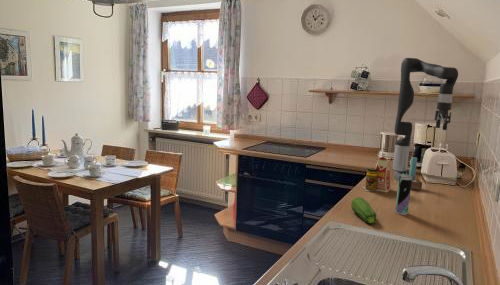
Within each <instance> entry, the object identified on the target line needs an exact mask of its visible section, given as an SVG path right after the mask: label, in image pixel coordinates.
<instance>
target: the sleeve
mask: <svg viewBox="0 0 500 285" xmlns="http://www.w3.org/2000/svg"><path fill="white" fill-rule="evenodd" d="M403 173H404V171H397V170H394V173H393V179H395V180H396V181H398V182H399V175H401V174H403Z"/></svg>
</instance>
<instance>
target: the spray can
mask: <svg viewBox="0 0 500 285" xmlns="http://www.w3.org/2000/svg"><path fill="white" fill-rule="evenodd" d="M411 182H412V176H410V175H409V170H407V171H404V173H403V174H401V175H399V181H398V183H397V193H396V200H395V209H394V213H395V214H397V215H402V216H407V215H408V213H409V206H410V198H411V191H412V190H411Z"/></svg>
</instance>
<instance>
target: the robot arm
mask: <svg viewBox="0 0 500 285" xmlns="http://www.w3.org/2000/svg"><path fill="white" fill-rule="evenodd" d="M400 66H401V67H400V83H399V95H398V101H397V103H398V104H397V112H396V118H395V123H394V133H395V135H396V136H404V137H403V138H400V139H396V140H395V143H394V153H393V162H392V170H394V171H408V162H409V154H410V145H411V138H412V133H413V122H411V121H402V119H403V117H404V116H405V114H406V113H407V111H408V110H409V109H410V108H411V106H412V105H413V103H414V99H415V91H414V87H413V86H412V83H411V78H410V77H411V73H424V74H426V75H427V76H431V77H434V78H438V79H441V80H445V82H444V83H442V84H440V86H439V93H438V97H437V104H436V109H437V110H436V111H435V114H434V115H435V116H434V121H435V122H436V124H435V128H437V129H440V128H441V123H442V122H443V123H442V131H447V130H448V124H450V123H451V118H452V117H451V116H452V112H449V111H451V110H452V105H453V104H452V103H453V94H454V92H453V91H454V88H455V84H456V82H457V80H458V76H459V71H458V68H456V67H452V66H451V67H450V66H442V65H440V64H436V63H430V62H429V63H428V62H426V61H424V60H421V59H419V58H417V57H416V58H414V57H405V58H403V60H402V62H401V65H400Z"/></svg>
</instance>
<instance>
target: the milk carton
mask: <svg viewBox="0 0 500 285" xmlns="http://www.w3.org/2000/svg"><path fill="white" fill-rule="evenodd" d="M390 162H391V161H390V160H389V159H388V158H387V157H386V155H384V154H382V157H379V158H378V160H377V162H376V165H375V168H376V169H377V170H378V171H377V172H378V173H377V174H378V180H377V189H376V190H379V191H378V192H383V193H388V192H389V191H390V190H391V163H390Z"/></svg>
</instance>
